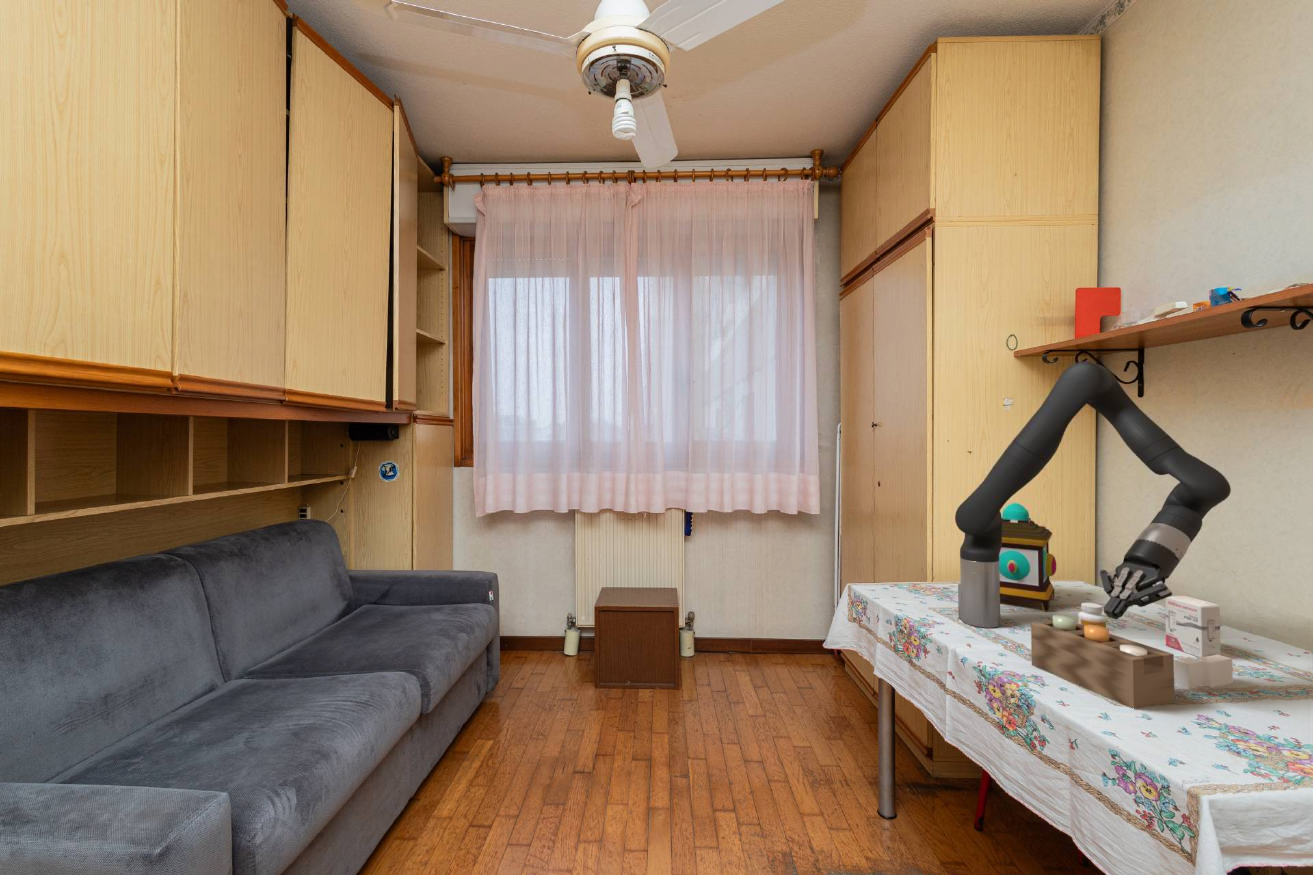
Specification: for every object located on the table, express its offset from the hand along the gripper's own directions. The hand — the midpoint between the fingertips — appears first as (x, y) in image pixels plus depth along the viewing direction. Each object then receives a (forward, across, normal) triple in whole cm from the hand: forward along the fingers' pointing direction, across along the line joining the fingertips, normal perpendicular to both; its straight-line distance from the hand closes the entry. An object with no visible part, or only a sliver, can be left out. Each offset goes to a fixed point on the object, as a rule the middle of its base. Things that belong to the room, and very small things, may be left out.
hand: (1110, 615), depth 111 cm
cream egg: (+5, +4, +6) cm, 9 cm away
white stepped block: (-3, +2, +25) cm, 25 cm away
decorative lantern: (-13, -54, +35) cm, 66 cm away
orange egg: (+4, -3, +5) cm, 7 cm away
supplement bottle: (-3, -19, +24) cm, 31 cm away
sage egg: (+4, -10, +5) cm, 12 cm away
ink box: (-16, -10, +37) cm, 41 cm away
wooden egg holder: (+10, -3, +11) cm, 15 cm away
